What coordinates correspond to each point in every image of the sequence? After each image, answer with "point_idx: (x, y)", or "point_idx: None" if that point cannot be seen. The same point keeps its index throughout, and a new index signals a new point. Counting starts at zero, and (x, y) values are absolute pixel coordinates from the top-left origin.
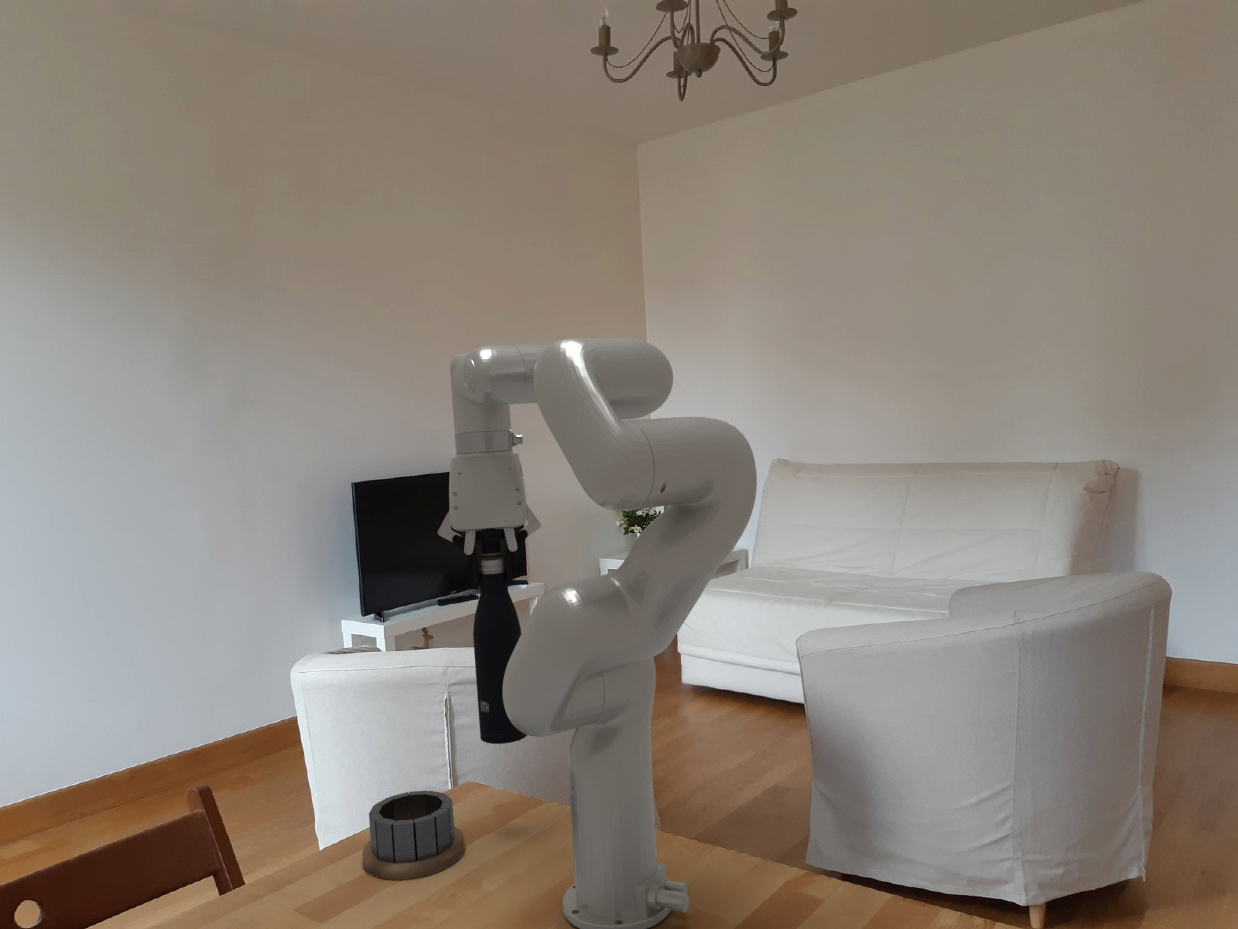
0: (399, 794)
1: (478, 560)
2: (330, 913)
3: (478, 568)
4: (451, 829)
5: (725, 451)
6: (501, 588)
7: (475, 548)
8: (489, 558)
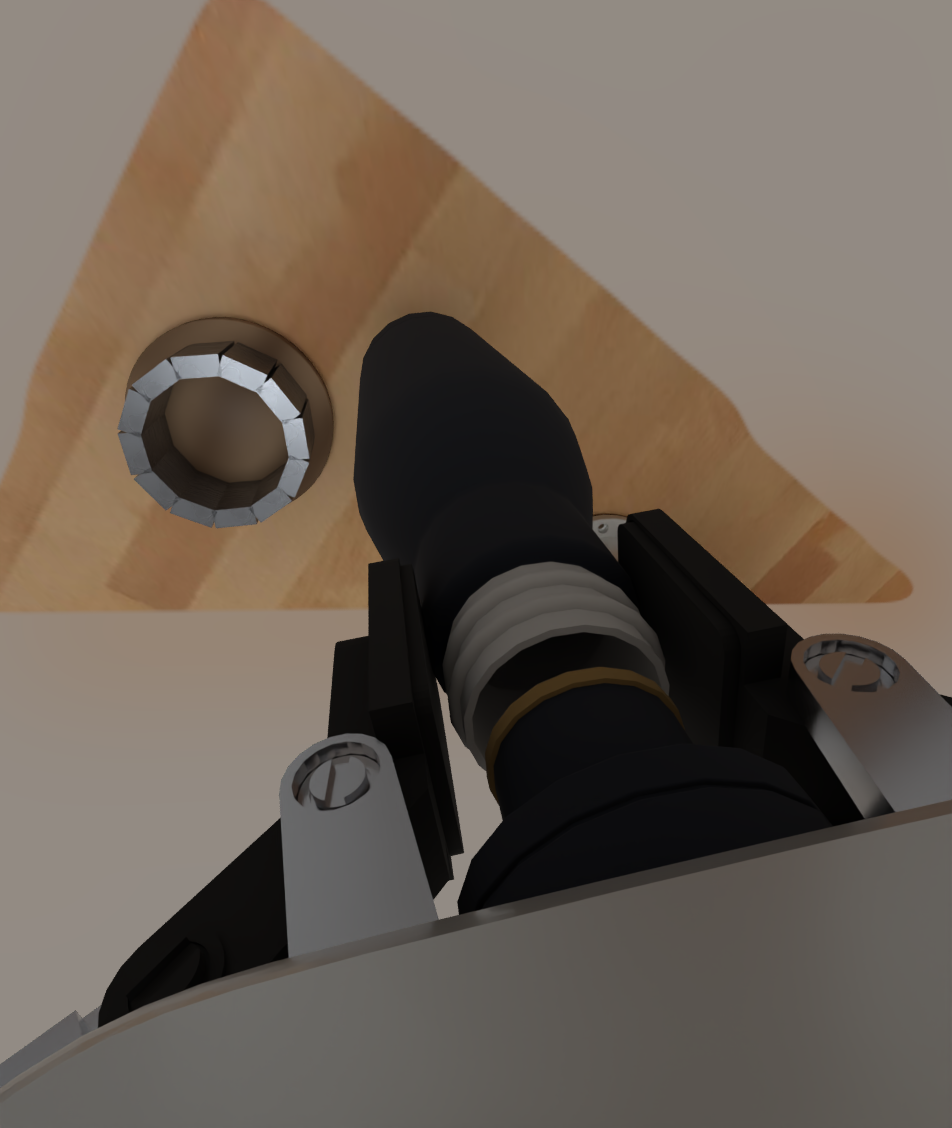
0: (151, 372)
1: (433, 696)
2: (178, 596)
3: (445, 742)
4: (311, 437)
5: None
6: (569, 636)
7: (431, 829)
8: (534, 640)
